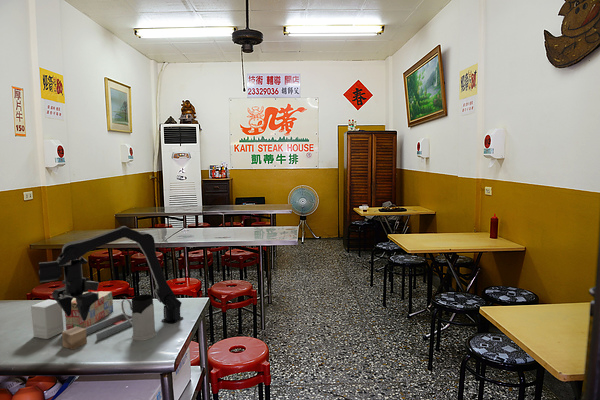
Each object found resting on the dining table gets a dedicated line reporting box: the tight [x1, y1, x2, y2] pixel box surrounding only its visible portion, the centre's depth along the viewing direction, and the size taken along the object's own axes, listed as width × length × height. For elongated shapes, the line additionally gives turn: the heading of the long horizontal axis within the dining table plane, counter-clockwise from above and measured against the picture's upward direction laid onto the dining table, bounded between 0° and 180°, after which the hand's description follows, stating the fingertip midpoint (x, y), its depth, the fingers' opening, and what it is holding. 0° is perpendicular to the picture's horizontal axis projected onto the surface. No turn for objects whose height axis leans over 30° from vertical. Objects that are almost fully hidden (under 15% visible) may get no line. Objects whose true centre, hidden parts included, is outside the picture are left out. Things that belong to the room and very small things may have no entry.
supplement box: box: [30, 299, 65, 340], centre depth 146 cm, size 7×7×13 cm
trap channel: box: [84, 312, 133, 341], centre depth 151 cm, size 10×18×2 cm, turn 153°
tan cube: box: [61, 327, 88, 351], centre depth 138 cm, size 6×6×6 cm
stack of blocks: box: [64, 290, 114, 331], centre depth 159 cm, size 21×6×12 cm, turn 173°
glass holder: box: [121, 294, 157, 341], centre depth 145 cm, size 9×14×15 cm, turn 73°
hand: (76, 317), depth 138 cm, fingers open, 9 cm apart
